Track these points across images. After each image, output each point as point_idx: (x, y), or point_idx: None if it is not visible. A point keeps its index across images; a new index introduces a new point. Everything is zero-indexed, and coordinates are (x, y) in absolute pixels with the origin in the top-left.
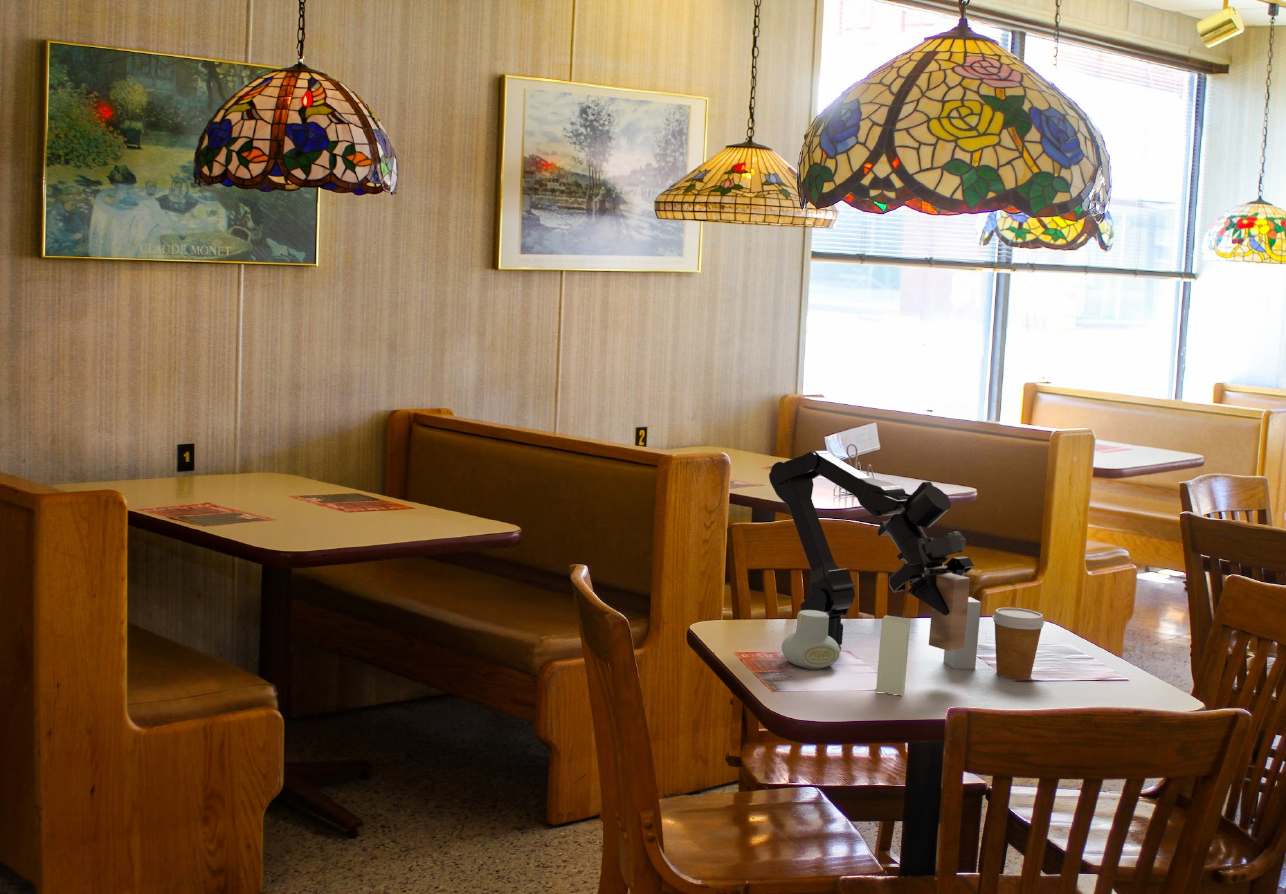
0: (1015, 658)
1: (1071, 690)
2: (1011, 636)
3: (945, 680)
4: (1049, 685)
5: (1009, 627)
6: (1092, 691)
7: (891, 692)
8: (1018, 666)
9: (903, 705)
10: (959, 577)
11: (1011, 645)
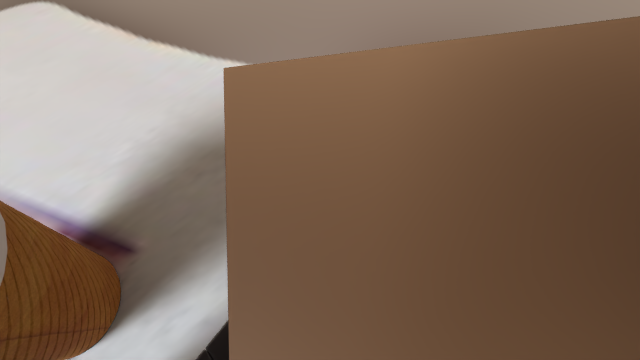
0: (79, 251)
1: (82, 135)
2: (32, 245)
3: None
4: (86, 185)
5: (2, 246)
6: (45, 113)
7: None
8: (87, 250)
9: None
10: (434, 149)
11: (57, 253)
